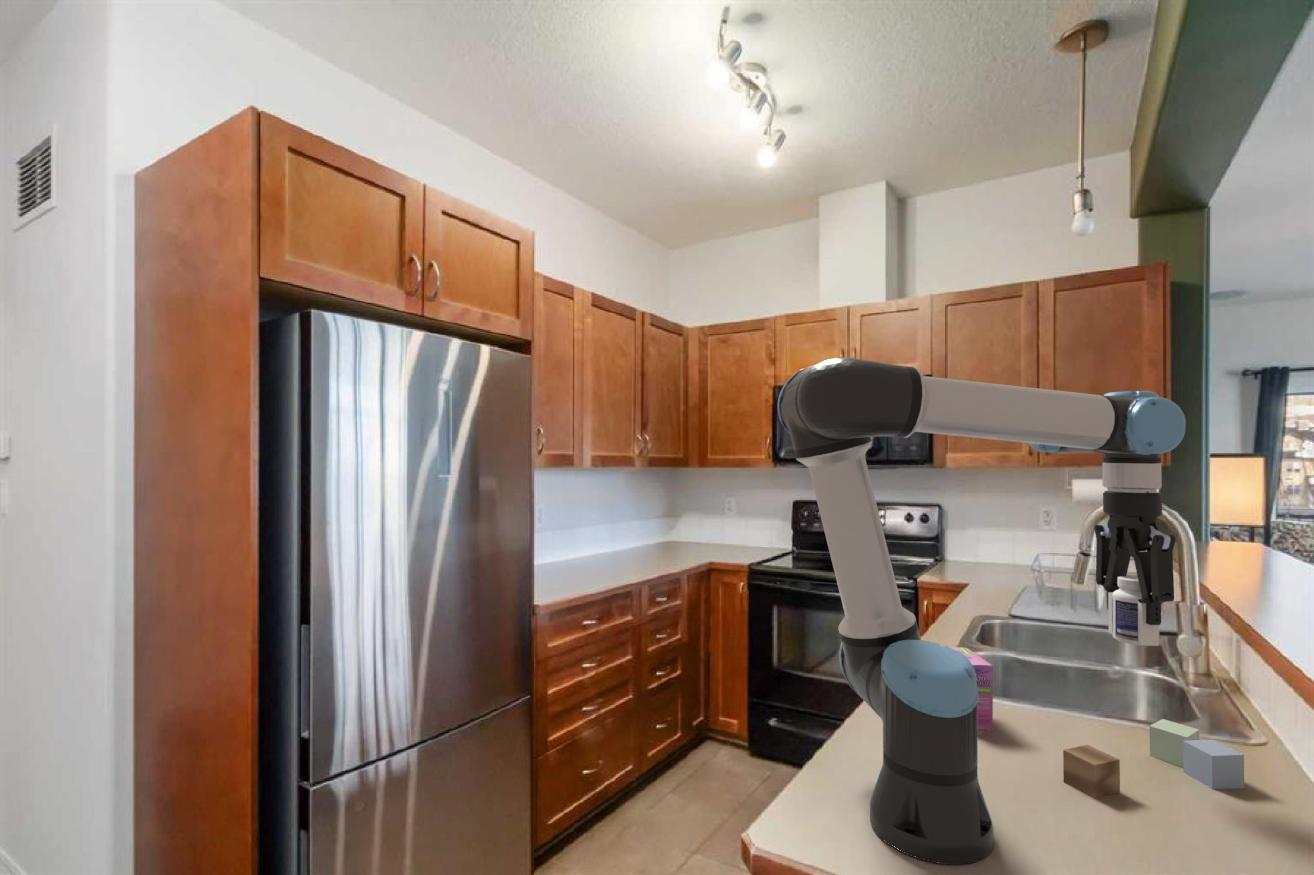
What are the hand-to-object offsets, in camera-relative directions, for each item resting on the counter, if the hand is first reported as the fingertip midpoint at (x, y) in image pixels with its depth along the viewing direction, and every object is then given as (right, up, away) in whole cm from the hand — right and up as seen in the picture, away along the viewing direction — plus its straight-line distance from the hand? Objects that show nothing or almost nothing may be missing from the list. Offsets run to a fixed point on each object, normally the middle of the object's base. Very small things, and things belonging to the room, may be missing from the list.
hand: (1133, 638), depth 103 cm
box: (-17, -21, +20) cm, 34 cm away
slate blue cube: (+10, -21, -3) cm, 23 cm away
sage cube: (+10, -21, +4) cm, 23 cm away
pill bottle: (0, -1, 0) cm, 1 cm away
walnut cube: (-10, -21, -5) cm, 23 cm away
